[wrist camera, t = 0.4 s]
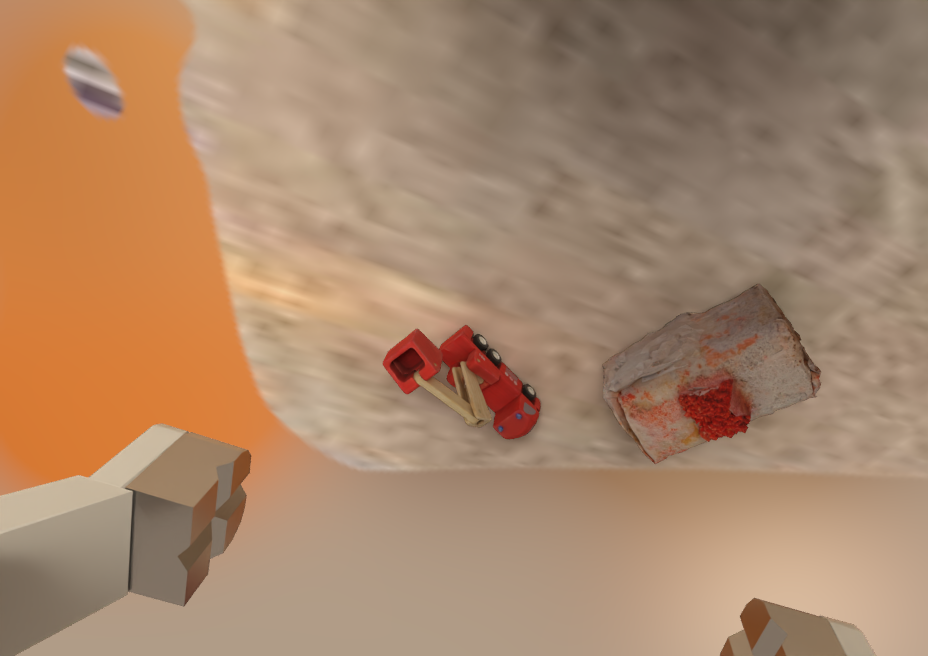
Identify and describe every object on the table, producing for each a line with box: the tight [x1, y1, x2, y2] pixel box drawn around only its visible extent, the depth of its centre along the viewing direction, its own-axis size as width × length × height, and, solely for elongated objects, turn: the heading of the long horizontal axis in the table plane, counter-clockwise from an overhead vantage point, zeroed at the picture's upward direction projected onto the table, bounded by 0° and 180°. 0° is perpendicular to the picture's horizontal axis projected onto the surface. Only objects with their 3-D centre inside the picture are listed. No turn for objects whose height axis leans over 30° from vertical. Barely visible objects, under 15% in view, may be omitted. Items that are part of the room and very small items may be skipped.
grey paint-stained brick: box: [602, 284, 821, 464], centre depth 45 cm, size 14×8×10 cm, turn 128°
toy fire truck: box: [383, 325, 541, 439], centre depth 49 cm, size 3×14×10 cm, turn 43°
